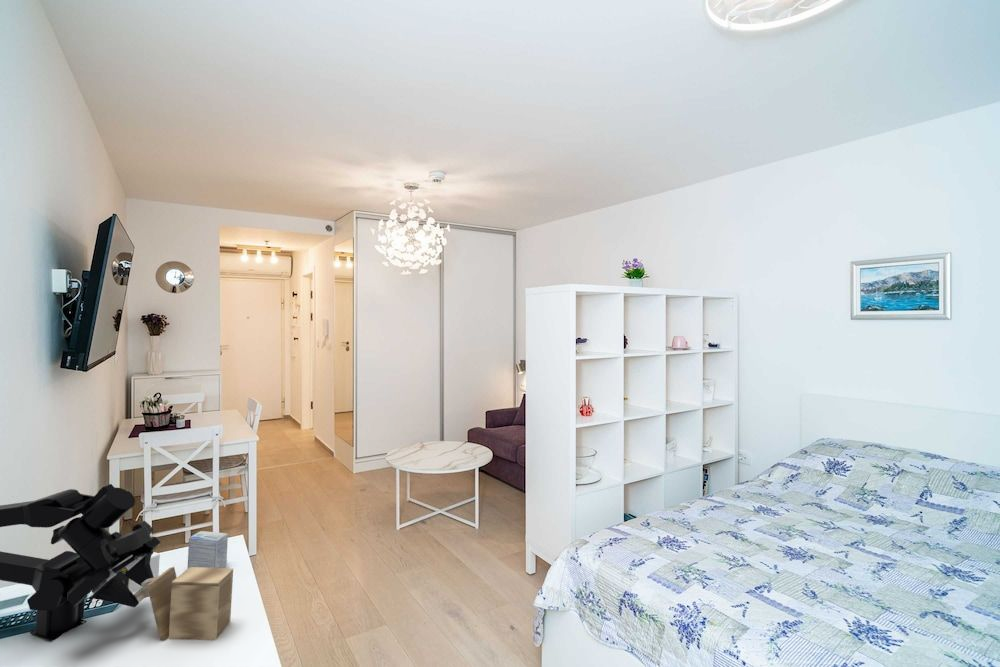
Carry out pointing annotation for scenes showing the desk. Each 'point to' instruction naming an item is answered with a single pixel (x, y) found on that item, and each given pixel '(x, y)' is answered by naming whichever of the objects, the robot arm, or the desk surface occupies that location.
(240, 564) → the desk surface
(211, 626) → the carton
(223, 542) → the medicine box
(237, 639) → the desk surface
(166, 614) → the flap
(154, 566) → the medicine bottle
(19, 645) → the desk surface
